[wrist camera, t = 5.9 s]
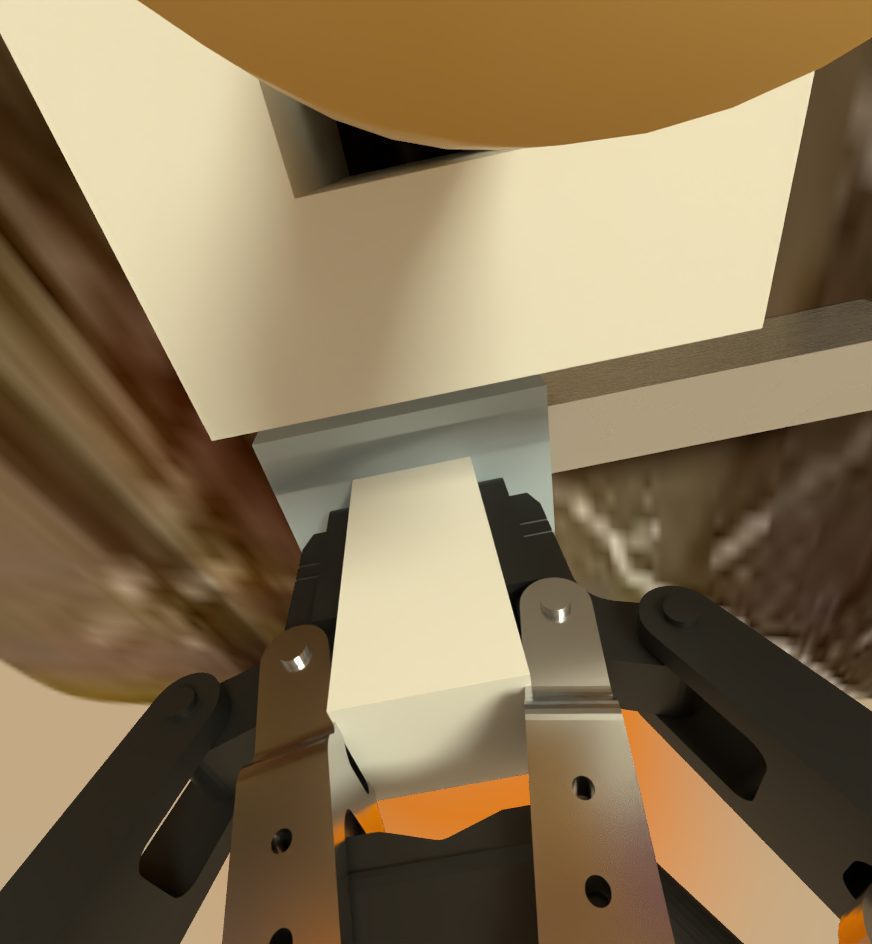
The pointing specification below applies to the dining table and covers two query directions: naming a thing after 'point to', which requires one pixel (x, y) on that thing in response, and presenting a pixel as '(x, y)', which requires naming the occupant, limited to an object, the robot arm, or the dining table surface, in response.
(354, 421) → the carriage
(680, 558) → the dining table surface
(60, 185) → the dining table surface
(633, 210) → the white hollow block
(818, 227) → the dining table surface
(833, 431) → the dining table surface
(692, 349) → the rail
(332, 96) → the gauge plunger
